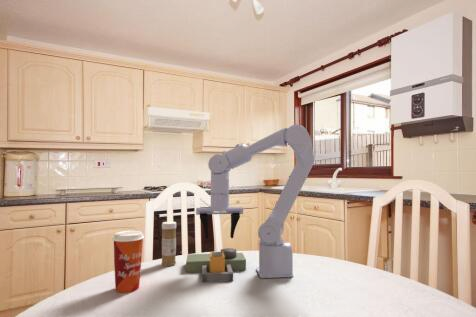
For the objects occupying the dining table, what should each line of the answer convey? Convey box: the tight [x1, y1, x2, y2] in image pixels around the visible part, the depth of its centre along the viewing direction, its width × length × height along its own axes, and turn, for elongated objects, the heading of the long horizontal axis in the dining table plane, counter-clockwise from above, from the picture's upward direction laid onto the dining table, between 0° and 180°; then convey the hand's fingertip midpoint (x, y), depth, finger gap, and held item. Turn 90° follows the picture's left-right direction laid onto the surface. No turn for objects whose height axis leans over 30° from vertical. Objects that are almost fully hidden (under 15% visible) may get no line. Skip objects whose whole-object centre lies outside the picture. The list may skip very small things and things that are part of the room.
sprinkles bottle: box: [161, 221, 177, 267], centre depth 94 cm, size 5×5×13 cm
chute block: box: [209, 251, 226, 273], centre depth 84 cm, size 4×5×6 cm
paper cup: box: [112, 230, 145, 294], centre depth 75 cm, size 8×8×14 cm
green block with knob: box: [185, 247, 247, 283], centre depth 88 cm, size 18×17×5 cm
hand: (219, 237), depth 91 cm, fingers open, 7 cm apart
